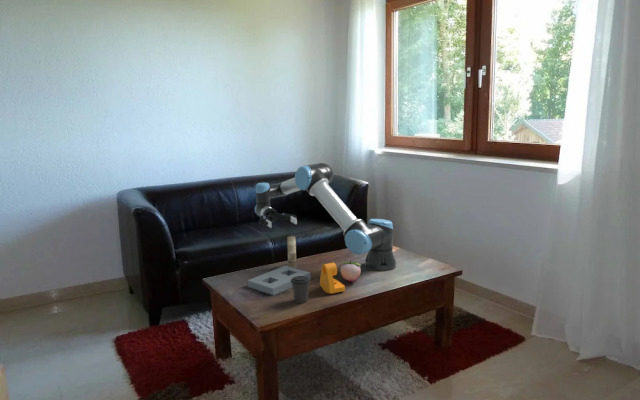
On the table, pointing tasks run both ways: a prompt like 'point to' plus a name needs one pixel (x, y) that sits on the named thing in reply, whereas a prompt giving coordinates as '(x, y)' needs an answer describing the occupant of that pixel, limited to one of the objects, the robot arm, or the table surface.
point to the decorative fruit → (350, 270)
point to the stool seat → (276, 280)
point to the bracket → (330, 279)
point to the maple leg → (291, 251)
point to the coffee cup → (300, 288)
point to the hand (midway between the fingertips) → (283, 223)
